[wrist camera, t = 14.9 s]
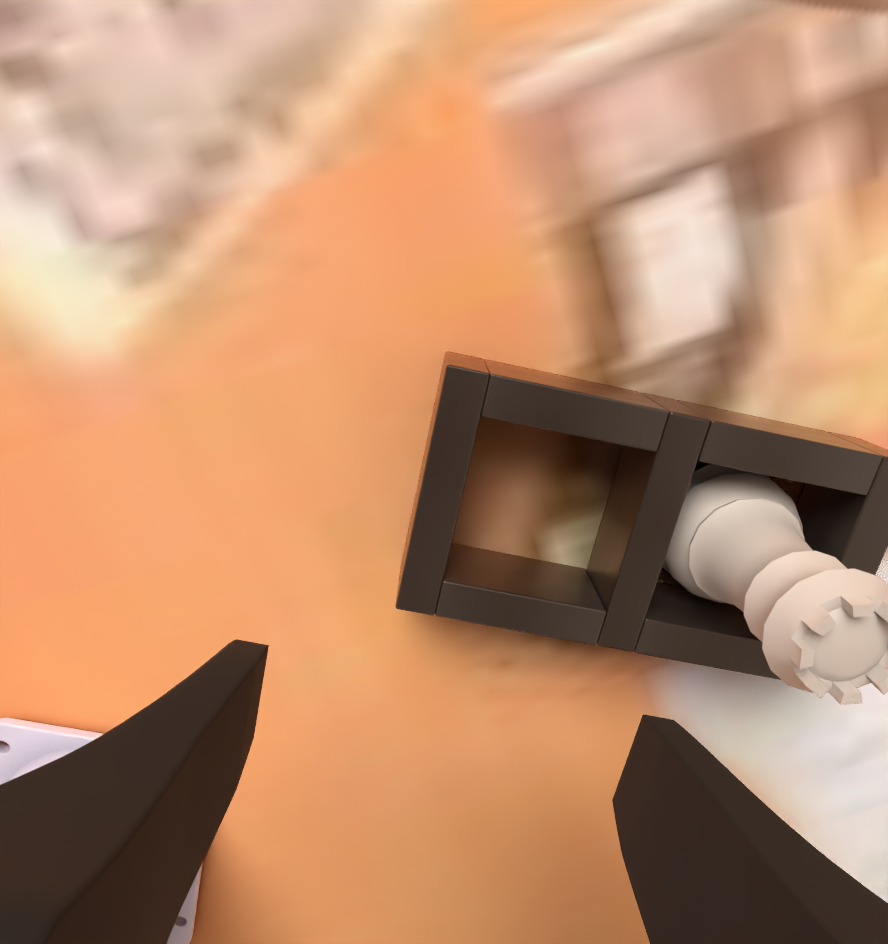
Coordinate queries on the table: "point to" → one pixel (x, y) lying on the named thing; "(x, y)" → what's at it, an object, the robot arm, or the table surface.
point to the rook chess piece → (781, 584)
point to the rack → (625, 513)
